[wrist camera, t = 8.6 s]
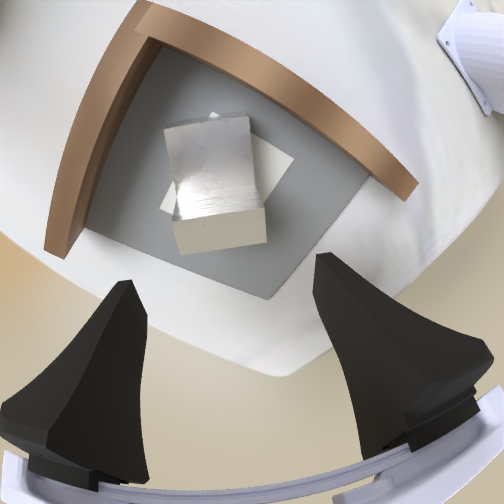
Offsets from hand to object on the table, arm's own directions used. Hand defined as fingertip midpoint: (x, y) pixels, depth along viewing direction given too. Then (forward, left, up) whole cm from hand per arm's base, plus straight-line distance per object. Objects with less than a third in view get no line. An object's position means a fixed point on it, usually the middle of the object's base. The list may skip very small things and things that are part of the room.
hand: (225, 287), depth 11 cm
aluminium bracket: (+1, -2, -9) cm, 9 cm away
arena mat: (+1, -1, -9) cm, 9 cm away
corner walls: (+1, -1, -9) cm, 9 cm away
